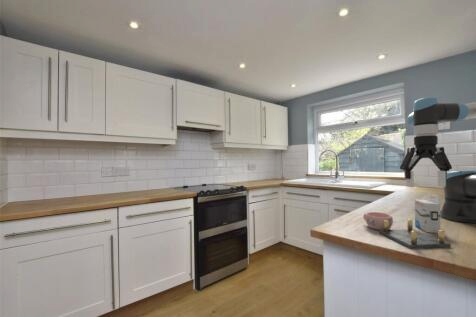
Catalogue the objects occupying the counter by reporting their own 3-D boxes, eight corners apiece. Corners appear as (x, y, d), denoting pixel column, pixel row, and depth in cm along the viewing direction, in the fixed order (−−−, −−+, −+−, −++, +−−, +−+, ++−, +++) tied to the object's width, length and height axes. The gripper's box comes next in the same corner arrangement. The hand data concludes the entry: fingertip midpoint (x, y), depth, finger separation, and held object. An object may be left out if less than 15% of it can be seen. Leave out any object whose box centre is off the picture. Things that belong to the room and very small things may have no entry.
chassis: (413, 232, 88) (413, 219, 88) (450, 247, 73) (450, 231, 73) (379, 233, 88) (379, 220, 88) (410, 248, 73) (409, 232, 73)
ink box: (414, 226, 96) (413, 192, 96) (427, 226, 95) (426, 192, 95) (427, 232, 88) (426, 195, 88) (441, 233, 87) (440, 195, 87)
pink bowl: (398, 230, 91) (398, 216, 91) (382, 233, 87) (382, 218, 87) (371, 222, 102) (370, 210, 102) (356, 225, 98) (355, 212, 98)
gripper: (445, 136, 96) (445, 185, 96) (389, 136, 95) (390, 185, 95) (463, 134, 88) (464, 187, 88) (403, 134, 87) (403, 188, 87)
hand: (425, 186), depth 92 cm, fingers open, 13 cm apart
